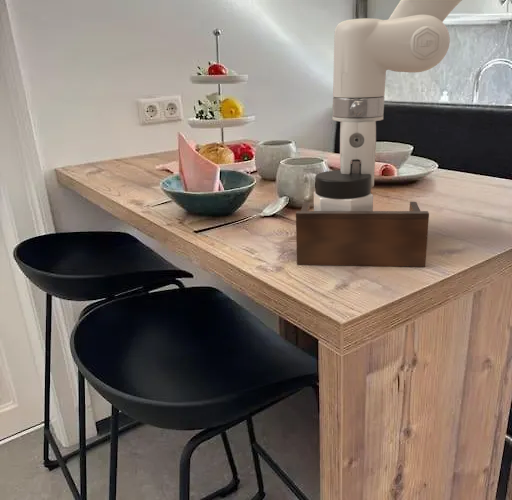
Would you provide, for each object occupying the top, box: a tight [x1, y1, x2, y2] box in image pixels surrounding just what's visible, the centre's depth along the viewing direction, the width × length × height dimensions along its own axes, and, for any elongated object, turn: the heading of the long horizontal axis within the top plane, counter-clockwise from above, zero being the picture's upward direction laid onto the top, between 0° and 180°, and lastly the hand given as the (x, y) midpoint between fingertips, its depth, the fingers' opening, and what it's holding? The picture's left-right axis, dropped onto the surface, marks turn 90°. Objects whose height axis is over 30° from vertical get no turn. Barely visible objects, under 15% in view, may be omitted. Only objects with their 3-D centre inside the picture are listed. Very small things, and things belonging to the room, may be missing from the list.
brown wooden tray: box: [295, 201, 430, 268], centre depth 76 cm, size 18×13×8 cm
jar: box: [313, 169, 374, 211], centre depth 75 cm, size 9×8×12 cm
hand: (353, 226), depth 81 cm, fingers closed
